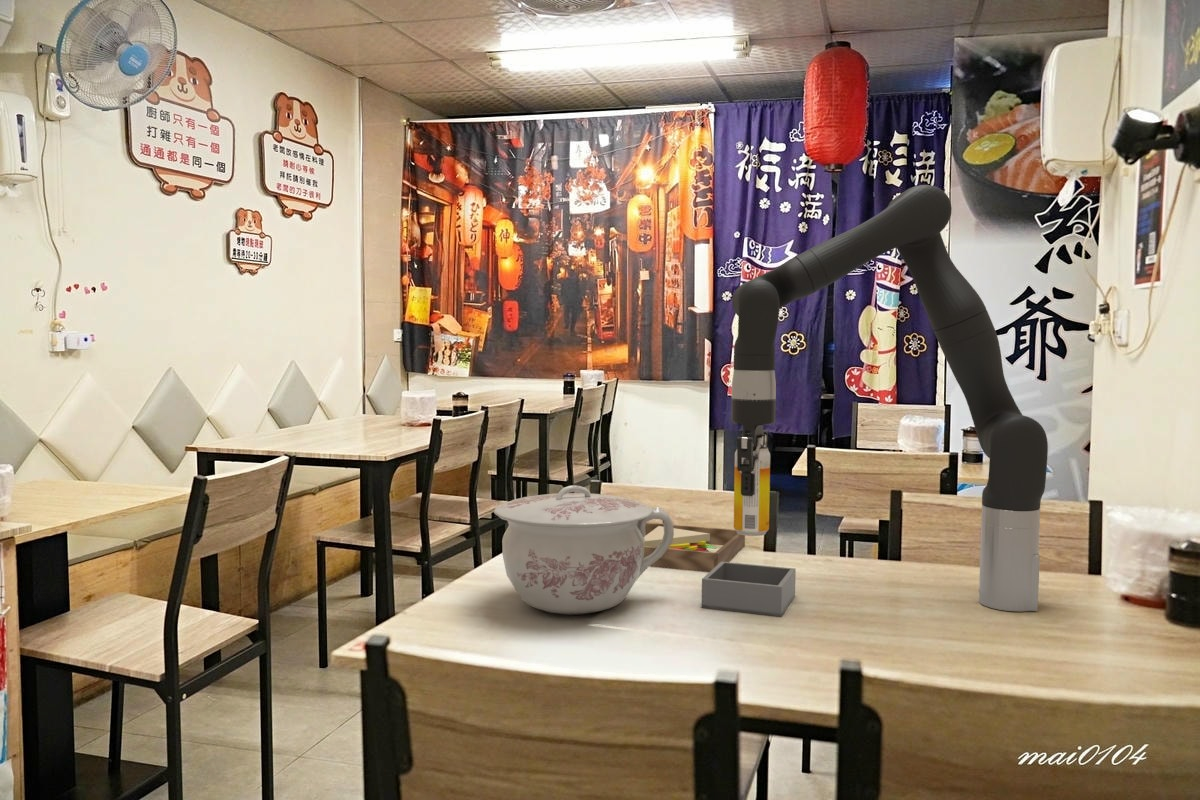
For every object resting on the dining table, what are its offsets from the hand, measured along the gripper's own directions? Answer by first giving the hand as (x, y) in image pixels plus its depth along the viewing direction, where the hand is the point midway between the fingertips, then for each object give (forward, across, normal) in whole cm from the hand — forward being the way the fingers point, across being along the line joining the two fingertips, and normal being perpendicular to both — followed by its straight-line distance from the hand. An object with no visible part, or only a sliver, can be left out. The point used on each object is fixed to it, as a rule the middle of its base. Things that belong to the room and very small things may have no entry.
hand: (751, 492), depth 161 cm
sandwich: (+20, +28, +25) cm, 43 cm away
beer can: (+7, 0, 0) cm, 7 cm away
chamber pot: (+20, -13, +28) cm, 36 cm away
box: (+19, 0, 0) cm, 19 cm away
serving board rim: (+19, +29, +22) cm, 41 cm away
